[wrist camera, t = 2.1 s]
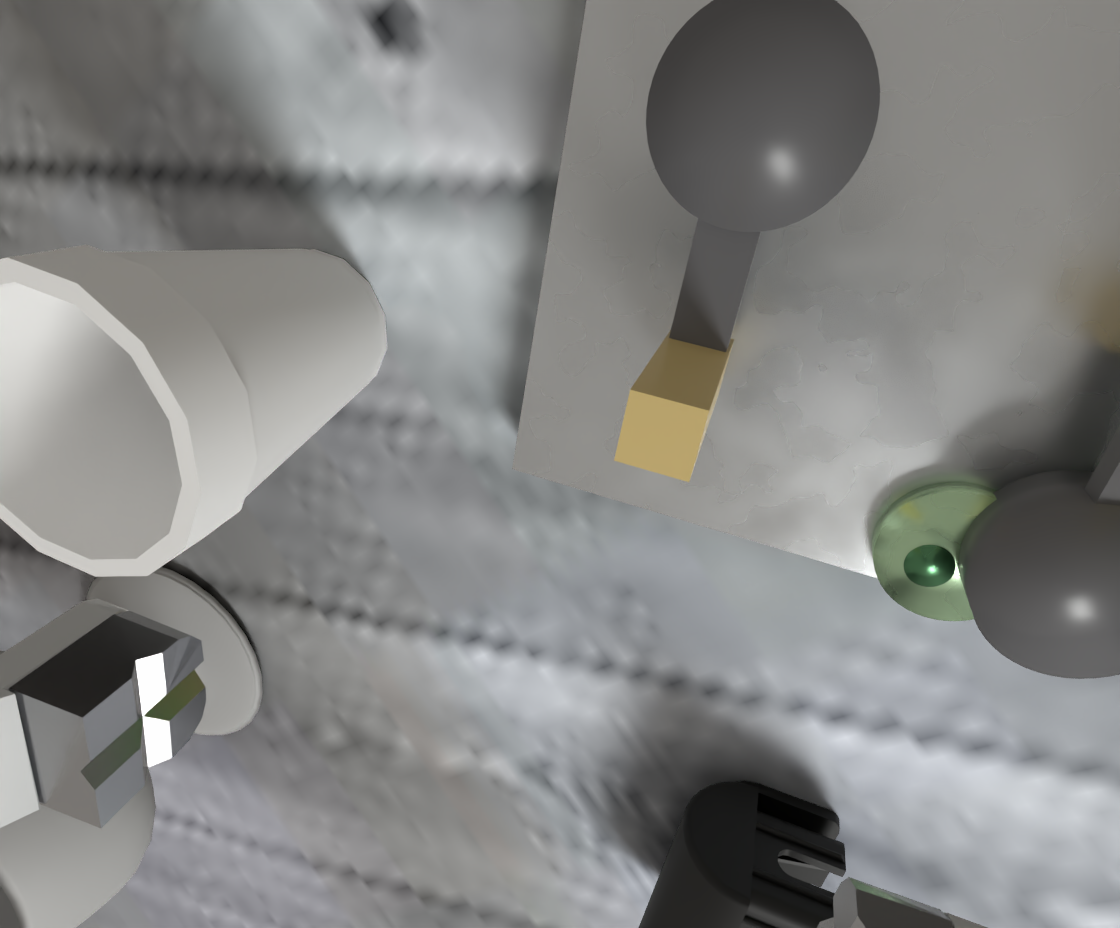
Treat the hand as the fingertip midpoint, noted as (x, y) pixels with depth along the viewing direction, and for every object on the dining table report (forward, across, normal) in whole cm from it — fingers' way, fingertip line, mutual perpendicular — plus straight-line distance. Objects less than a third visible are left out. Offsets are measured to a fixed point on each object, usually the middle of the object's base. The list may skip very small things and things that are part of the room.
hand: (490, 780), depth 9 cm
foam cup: (+22, +16, +3) cm, 27 cm away
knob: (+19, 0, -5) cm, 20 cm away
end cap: (+22, -8, +24) cm, 34 cm away
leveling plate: (+21, -5, -4) cm, 22 cm away
